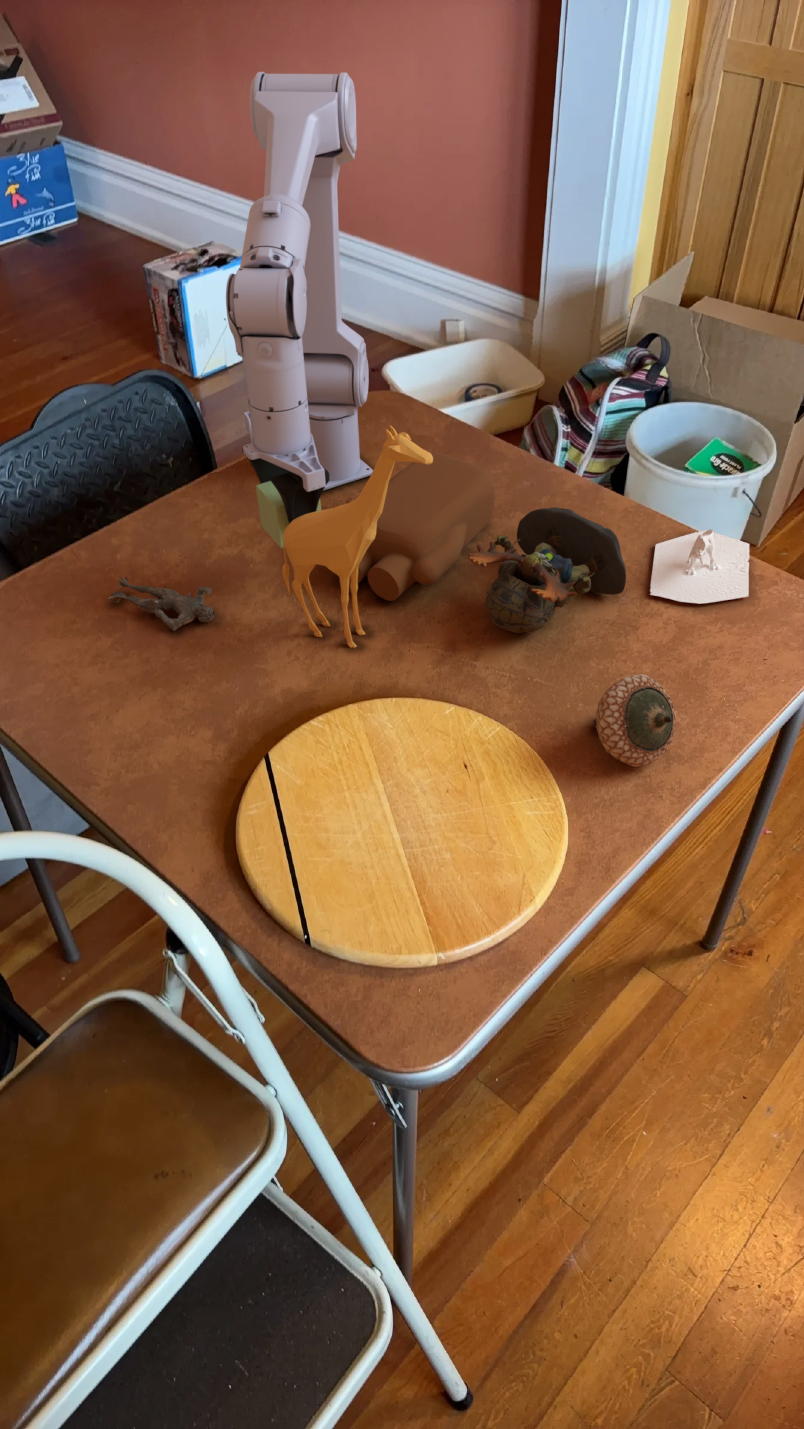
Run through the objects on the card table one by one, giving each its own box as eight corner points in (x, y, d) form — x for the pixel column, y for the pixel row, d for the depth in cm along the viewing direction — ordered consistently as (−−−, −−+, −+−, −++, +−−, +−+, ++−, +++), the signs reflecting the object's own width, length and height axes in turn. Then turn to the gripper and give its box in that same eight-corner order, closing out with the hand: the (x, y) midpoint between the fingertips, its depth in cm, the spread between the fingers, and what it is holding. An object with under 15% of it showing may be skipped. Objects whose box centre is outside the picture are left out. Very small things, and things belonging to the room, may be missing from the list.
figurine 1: (123, 558, 108) (216, 575, 104) (139, 580, 111) (229, 597, 107) (96, 602, 106) (190, 622, 101) (113, 624, 109) (204, 643, 105)
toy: (420, 623, 107) (517, 528, 117) (418, 566, 101) (519, 472, 112) (315, 576, 113) (416, 491, 124) (307, 521, 107) (413, 436, 118)
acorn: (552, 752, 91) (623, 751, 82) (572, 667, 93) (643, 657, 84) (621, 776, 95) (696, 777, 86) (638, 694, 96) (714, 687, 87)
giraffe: (439, 645, 102) (441, 423, 85) (423, 672, 100) (422, 447, 82) (298, 609, 107) (273, 391, 90) (278, 633, 104) (249, 413, 87)
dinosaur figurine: (673, 542, 119) (678, 491, 116) (775, 562, 113) (784, 509, 110) (622, 593, 109) (626, 538, 106) (731, 617, 103) (740, 560, 100)
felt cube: (260, 525, 106) (255, 485, 103) (302, 512, 108) (298, 471, 105) (280, 548, 103) (275, 507, 100) (323, 534, 105) (320, 493, 101)
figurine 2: (652, 534, 104) (568, 593, 92) (626, 610, 110) (544, 674, 98) (541, 485, 110) (448, 533, 98) (522, 559, 116) (433, 614, 104)
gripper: (209, 379, 98) (228, 497, 108) (272, 440, 89) (286, 564, 99) (274, 362, 101) (287, 479, 110) (341, 420, 92) (349, 543, 101)
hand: (291, 518), depth 105 cm, fingers closed on felt cube, 5 cm apart
